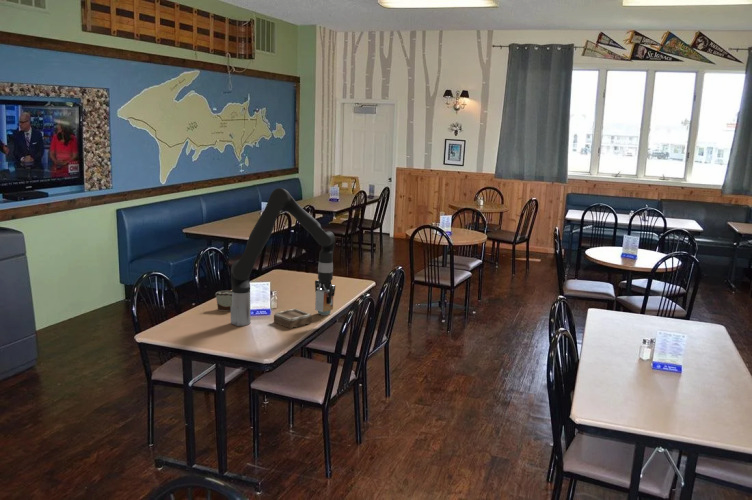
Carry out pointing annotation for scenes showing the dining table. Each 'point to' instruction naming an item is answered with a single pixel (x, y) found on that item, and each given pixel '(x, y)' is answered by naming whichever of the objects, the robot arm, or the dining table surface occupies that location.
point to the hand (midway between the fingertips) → (324, 302)
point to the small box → (323, 301)
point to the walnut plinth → (292, 318)
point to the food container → (224, 300)
